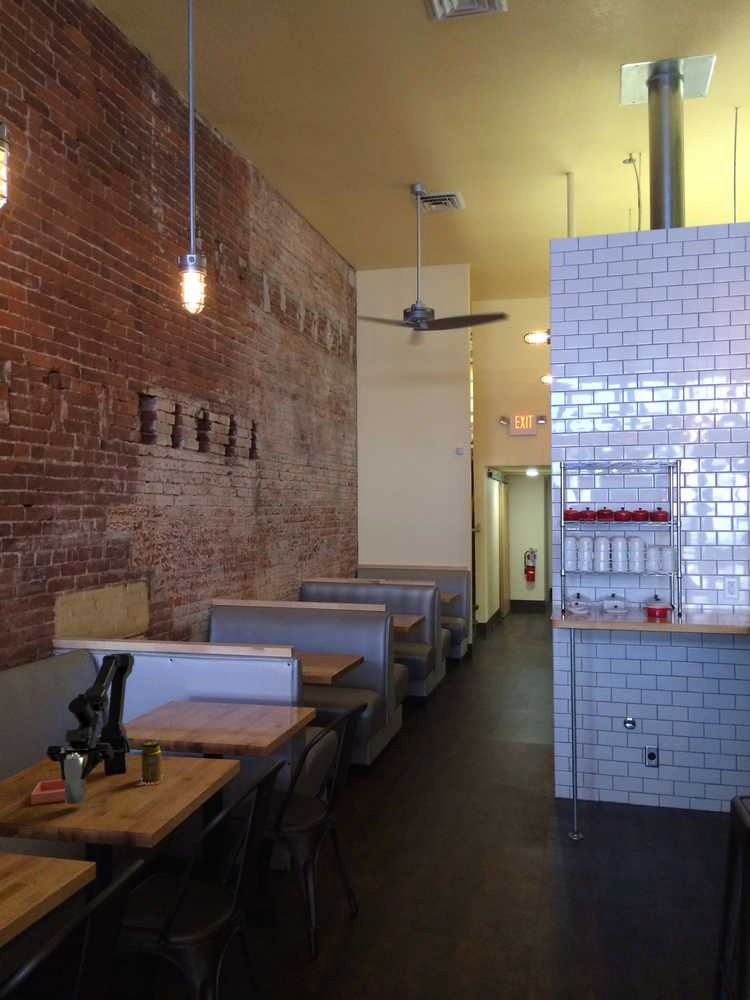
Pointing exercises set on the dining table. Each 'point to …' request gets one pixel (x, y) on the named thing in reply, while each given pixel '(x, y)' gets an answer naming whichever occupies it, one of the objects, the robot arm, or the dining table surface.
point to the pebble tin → (74, 778)
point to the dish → (48, 792)
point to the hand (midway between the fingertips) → (72, 779)
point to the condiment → (151, 762)
